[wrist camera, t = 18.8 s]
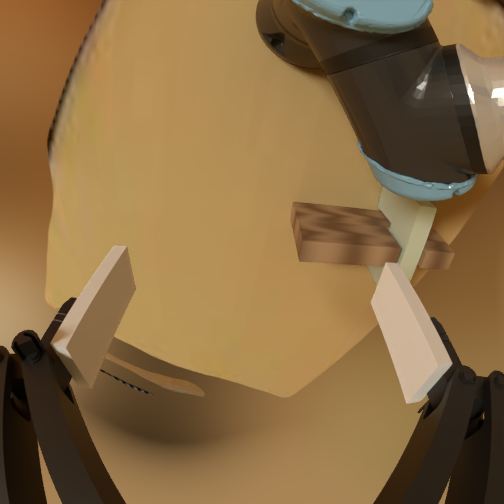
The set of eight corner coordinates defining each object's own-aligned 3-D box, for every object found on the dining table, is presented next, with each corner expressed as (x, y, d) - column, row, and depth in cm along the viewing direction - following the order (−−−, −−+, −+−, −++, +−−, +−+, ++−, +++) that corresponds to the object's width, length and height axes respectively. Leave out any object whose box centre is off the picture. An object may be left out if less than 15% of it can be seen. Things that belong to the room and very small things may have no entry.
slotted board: (290, 219, 46) (299, 261, 36) (292, 202, 45) (302, 240, 35) (416, 231, 47) (447, 269, 36) (421, 216, 45) (454, 253, 35)
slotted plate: (385, 174, 41) (419, 205, 31) (400, 177, 41) (437, 208, 31) (363, 258, 50) (384, 302, 40) (377, 259, 50) (400, 302, 40)
